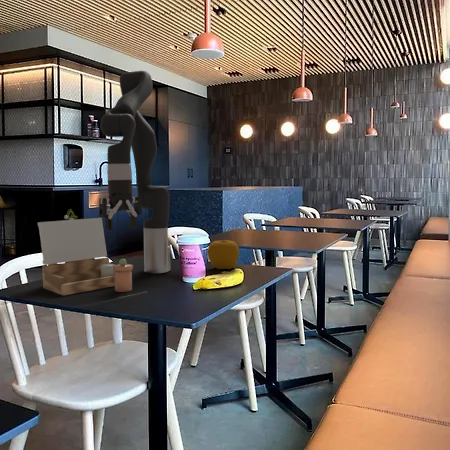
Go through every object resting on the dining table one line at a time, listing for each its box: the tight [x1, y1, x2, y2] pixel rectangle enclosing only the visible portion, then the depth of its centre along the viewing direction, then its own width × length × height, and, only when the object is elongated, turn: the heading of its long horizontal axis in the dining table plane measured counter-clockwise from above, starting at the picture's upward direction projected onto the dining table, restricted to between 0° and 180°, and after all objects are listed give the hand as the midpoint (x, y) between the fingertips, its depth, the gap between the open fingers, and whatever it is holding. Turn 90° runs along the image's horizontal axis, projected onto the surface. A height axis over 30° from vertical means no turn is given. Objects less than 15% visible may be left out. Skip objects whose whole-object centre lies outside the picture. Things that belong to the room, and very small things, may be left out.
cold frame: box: [41, 257, 115, 296], centre depth 166 cm, size 24×18×18 cm
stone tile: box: [116, 291, 148, 299], centre depth 159 cm, size 11×11×1 cm
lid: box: [37, 217, 108, 266], centre depth 170 cm, size 23×14×1 cm
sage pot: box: [101, 263, 116, 278], centre depth 169 cm, size 5×5×6 cm
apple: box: [207, 239, 240, 270], centre depth 198 cm, size 13×13×11 cm
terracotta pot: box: [113, 258, 134, 293], centre depth 158 cm, size 6×6×10 cm
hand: (121, 229), depth 157 cm, fingers open, 8 cm apart
